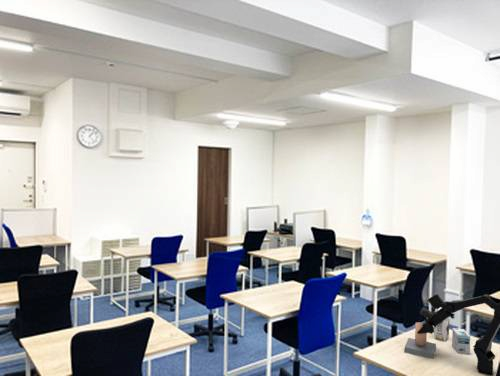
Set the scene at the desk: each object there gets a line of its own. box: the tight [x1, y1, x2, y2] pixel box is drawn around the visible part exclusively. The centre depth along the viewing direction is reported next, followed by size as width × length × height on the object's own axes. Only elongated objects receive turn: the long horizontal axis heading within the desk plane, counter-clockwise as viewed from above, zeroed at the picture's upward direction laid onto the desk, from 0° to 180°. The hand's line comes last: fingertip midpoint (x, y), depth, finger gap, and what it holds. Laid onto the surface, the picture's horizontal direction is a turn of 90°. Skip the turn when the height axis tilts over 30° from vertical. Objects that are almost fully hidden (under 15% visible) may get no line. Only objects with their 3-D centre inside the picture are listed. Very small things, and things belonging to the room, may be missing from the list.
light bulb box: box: [451, 327, 471, 355], centre depth 224 cm, size 11×7×11 cm, turn 168°
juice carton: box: [433, 308, 451, 342], centre depth 240 cm, size 8×9×19 cm
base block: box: [404, 337, 437, 360], centre depth 222 cm, size 15×15×3 cm
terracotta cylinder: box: [414, 321, 428, 345], centre depth 222 cm, size 6×6×11 cm
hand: (418, 331), depth 222 cm, fingers closed on terracotta cylinder, 6 cm apart
